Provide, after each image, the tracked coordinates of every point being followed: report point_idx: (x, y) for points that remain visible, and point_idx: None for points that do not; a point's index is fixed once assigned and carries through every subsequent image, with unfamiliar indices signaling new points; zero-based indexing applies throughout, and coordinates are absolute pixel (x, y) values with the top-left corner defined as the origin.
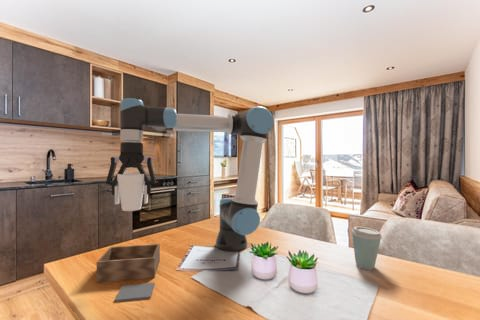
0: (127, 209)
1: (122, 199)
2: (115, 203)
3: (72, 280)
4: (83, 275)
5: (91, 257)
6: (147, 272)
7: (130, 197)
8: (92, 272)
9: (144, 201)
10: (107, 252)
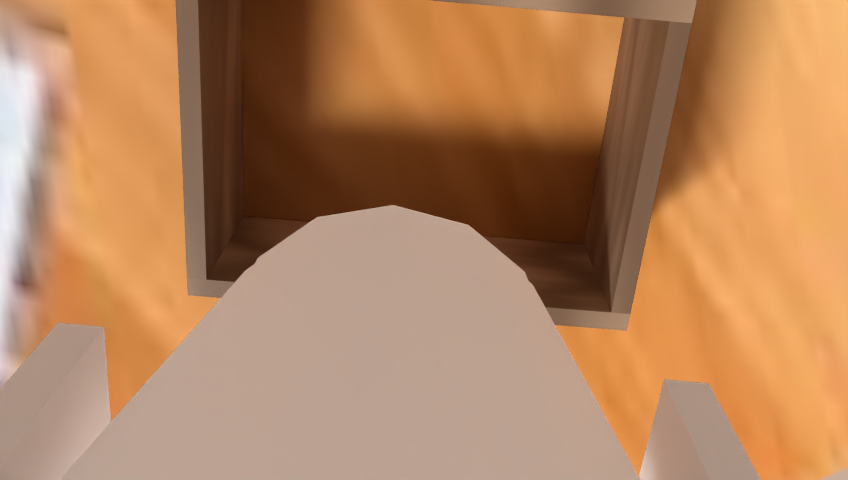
0: (436, 227)
1: (560, 360)
2: (699, 394)
3: (825, 67)
4: (761, 128)
5: (750, 413)
6: None
7: (347, 309)
8: (705, 161)
9: (79, 355)
10: (633, 207)
